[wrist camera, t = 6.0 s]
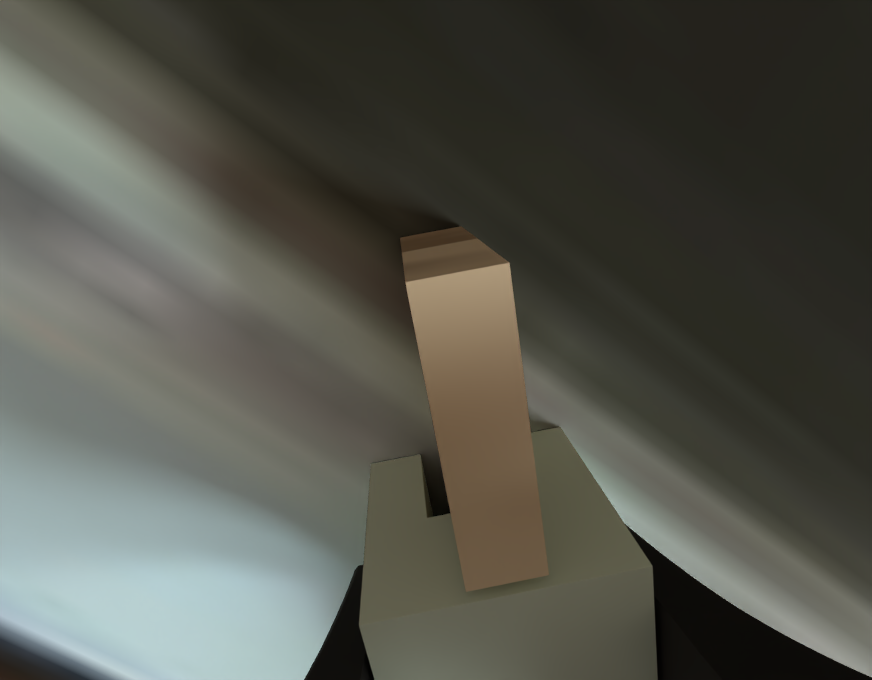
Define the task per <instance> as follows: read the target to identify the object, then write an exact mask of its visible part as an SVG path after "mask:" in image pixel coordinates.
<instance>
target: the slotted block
mask: <svg viewBox="0 0 872 680" xmlns="http://www.w3.org/2000/svg"><path fill="white" fill-rule="evenodd" d="M531 437H532V445H533V452H534V460H535V468H536V476H537V484H538V492H539V499H540V507H541V515H542V523H543V531H544V539H545V546H546V554H547V562H548V570H549V575H547V576H543V577H538V578H533V579H528V580H523V581H518V582H513V583H508V584H503V585H498V586H493V587H488V588H483V589H478V590H473V591H468V592H466V590H465V585H464V580H463V575H462V570H461V565H460V559H459V554H458V549H457V544H456V539H455V534H454V529H453V524H452V519H451V513H450V514H445V515H440V516H434V517H433V512H432V507H431V503H430V498H429V493H428V488H427V483H426V479H425V474H424V469H423V464H422V459H421V454H418V455H413V456H408V457H403V458H398V459H393V460H388V461H382V462H377V463H372V464H371V469H370V483H369V496H368V510H367V524H366V537H365V551H364V564H363V578H362V591H361V605H360V618H359V627H360V631H361V634H362V638H363V641H364V645H365V648H366V652H367V655H368V659H369V662H370V666H371V669H372V673H373V676H374V680H658V675H657V653H656V631H655V609H654V587H653V566H652V565H651V563H650V561H649V560H648V558H647V557H646V555H645V554H644V552H643V551H642V549H641V548H640V546H639V545H638V543H637V542H636V540H635V539H634V537H633V536H632V534H631V533H630V531H629V530H628V528H627V527H626V525H625V524H624V522H623V521H622V519H621V518H620V516H619V515H618V513H617V512H616V510H615V509H614V507H613V506H612V504H611V503H610V501H609V500H608V498H607V497H606V495H605V494H604V492H603V491H602V489H601V488H600V486H599V485H598V483H597V482H596V480H595V479H594V477H593V476H592V474H591V473H590V471H589V470H588V468H587V467H586V465H585V464H584V462H583V461H582V459H581V458H580V456H579V455H578V453H577V452H576V450H575V449H574V447H573V446H572V444H571V443H570V441H569V440H568V438H567V437H566V435H565V434H564V432H563V430H562V429H561V427H557V428H552V429H547V430H541V431H536V432H531Z"/></svg>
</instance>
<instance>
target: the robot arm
mask: <svg viewBox="0 0 872 680" xmlns="http://www.w3.org/2000/svg"><path fill="white" fill-rule="evenodd" d="M626 527H627V528H628V530H629V531H630V533H631V534H632V536H633V537H634V539H635V540H636V542H637V543H638V545H639V546H640V548H641V549H642V551H643V552H644V554H645V555H646V557H647V558H648V560H649V561H650V563H651V565H652V566H653V587H654V609H655V631H656V653H657V675H658V680H872V677H869V676H867V675H865V674H862V673H860V672H858V671H856V670H854V669H851V668H849V667H847V666H845V665H843V664H841V663H839V662H836V661H834V660H832V659H830V658H828V657H826V656H824V655H822V654H820V653H818V652H816V651H814V650H812V649H810V648H808V647H806V646H804V645H802V644H800V643H798V642H797V641H795V640H793V639H791V638H789V637H787V636H785V635H783V634H782V633H780V632H778V631H776V630H774V629H773V628H771V627H769V626H767V625H766V624H764V623H762V622H761V621H759V620H757V619H756V618H754V617H752V616H750V615H749V614H747V613H745V612H744V611H742V610H740V609H739V608H737V607H736V606H734V605H733V604H731V603H729V602H728V601H726V600H725V599H723V598H722V597H720V596H719V595H717V594H716V593H715V592H713V591H712V590H710V589H709V588H707V587H706V586H704V585H703V584H701V583H700V582H699V581H697V580H696V579H694V578H693V577H692V576H690V575H689V574H688V573H686V572H685V571H684V570H682V569H681V568H680V567H678V566H677V565H676V564H674V563H673V562H672V561H670V560H669V559H668V558H666V557H665V556H664V555H662V554H661V553H660V552H659V551H657V550H656V549H655V548H654V547H652V546H651V545H650V544H649V543H647V542H646V541H645V540H644V539H642V538H641V537H640V536H639V535H638V534H636V533H635V532H634V531H633V530H631V529H630V528H629V527H628V526H627V525H626ZM362 578H363V565H359V566H358V567H357V568H356V569H355V571H354V574H353V577H352V579H351V582H350V585H349V587H348V590H347V592H346V595H345V597H344V599H343V602H342V604H341V606H340V609H339V611H338V613H337V616H336V618H335V620H334V622H333V624H332V626H331V628H330V631H329V633H328V635H327V637H326V639H325V641H324V643H323V645H322V647H321V649H320V651H319V653H318V655H317V657H316V659H315V661H314V662H313V664H312V666H311V668H310V670H309V672H308V674H307V676H306V677H305V679H304V680H374V676H373V673H372V669H371V666H370V662H369V659H368V655H367V652H366V648H365V645H364V641H363V638H362V634H361V631H360V627H359V618H360V605H361V591H362Z"/></svg>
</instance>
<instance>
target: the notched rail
mask: <svg viewBox="0 0 872 680" xmlns="http://www.w3.org/2000/svg"><path fill="white" fill-rule="evenodd" d="M400 242H401V251H402V259H403V267H404V275H405V283H406V288H407V293H408V298H409V304H410V309H411V314H412V319H413V324H414V329H415V334H416V339H417V344H418V350H419V355H420V360H421V365H422V370H423V375H424V380H425V385H426V391H427V396H428V401H429V406H430V411H431V416H432V421H433V426H434V431H435V437H436V442H437V447H438V452H439V457H440V462H441V467H442V472H443V478H444V483H445V488H446V493H447V498H448V503H449V508H450V513H451V519H452V524H453V529H454V534H455V539H456V544H457V549H458V554H459V559H460V565H461V570H462V575H463V580H464V585H465V590H466V592H468V591H473V590H478V589H483V588H488V587H493V586H498V585H503V584H508V583H513V582H518V581H523V580H528V579H533V578H538V577H543V576H547V575H549V570H548V562H547V554H546V546H545V539H544V531H543V523H542V515H541V507H540V499H539V492H538V484H537V476H536V468H535V460H534V452H533V445H532V437H531V429H530V421H529V413H528V405H527V397H526V390H525V382H524V374H523V366H522V358H521V350H520V343H519V335H518V327H517V319H516V311H515V303H514V295H513V288H512V280H511V272H510V264H509V262H508V261H506V260H505V259H504V258H502V257H501V256H500V255H498V254H497V253H496V252H494V251H493V250H492V249H491V248H489V247H488V246H487V245H485V244H484V243H483V242H481V241H480V240H479V239H477V238H476V237H475V236H473V235H472V234H471V233H469V232H468V231H467V230H465V229H464V228H463V227H461V226H460V227H455V228H449V229H444V230H439V231H433V232H428V233H422V234H417V235H412V236H406V237H401V238H400Z"/></svg>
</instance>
